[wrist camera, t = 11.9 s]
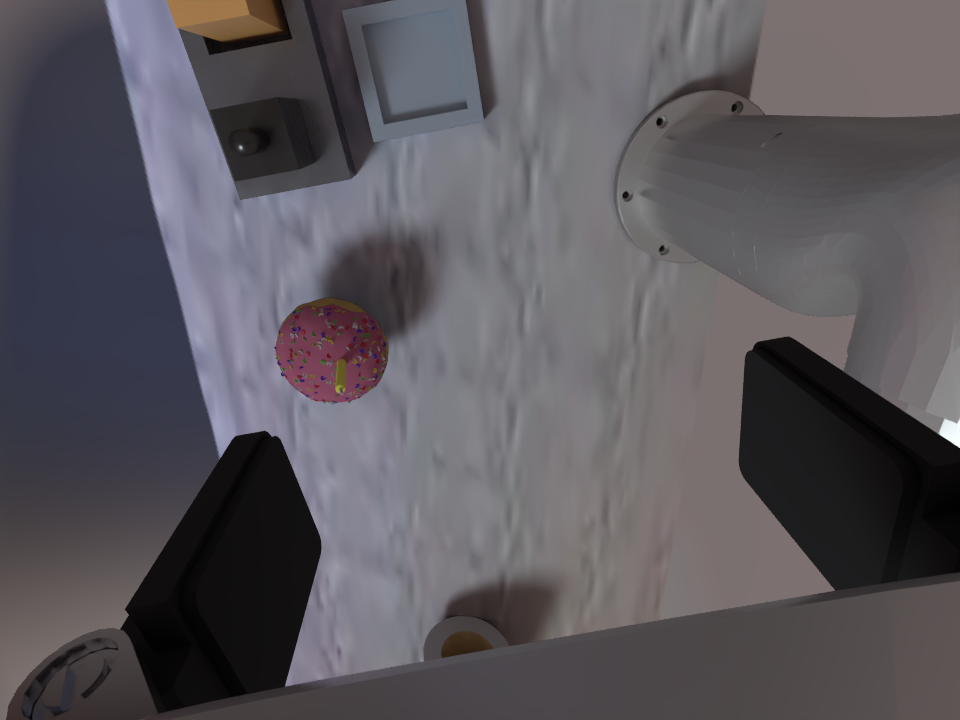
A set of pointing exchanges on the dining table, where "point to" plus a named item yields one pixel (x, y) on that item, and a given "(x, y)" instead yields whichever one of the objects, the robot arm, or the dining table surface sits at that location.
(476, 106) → the tray
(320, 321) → the cupcake
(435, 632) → the toilet paper
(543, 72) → the dining table surface
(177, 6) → the plug
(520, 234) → the dining table surface
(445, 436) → the dining table surface
